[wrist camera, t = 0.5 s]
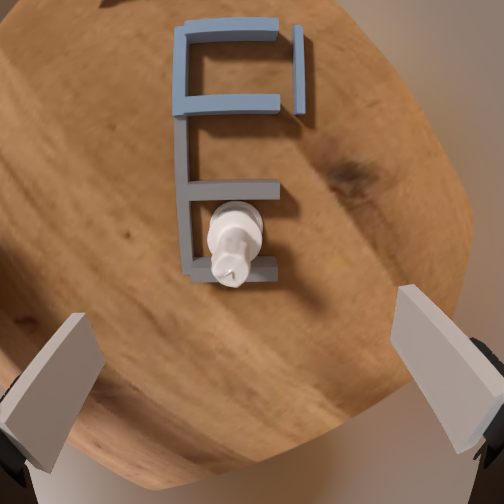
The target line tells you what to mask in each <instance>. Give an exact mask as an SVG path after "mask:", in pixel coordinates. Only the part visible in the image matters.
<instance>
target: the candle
mask: <svg viewBox="0 0 504 504" xmlns="http://www.w3.org/2000/svg"><path fill="white" fill-rule="evenodd" d="M262 231H263V222H262V218H261V216H260V214H259V212H258V211H257V210H256V209H255V208H254V207H253V206H252V205H250V204H249V203H246V202H243V201H229V202H226V203H224V204H222V205H221V206H219V207H218V208H217V209H216V210H215V212H214V213H213V215H212V217H211V220H210V230H209V232H208V238H207V241H208V247H209V249H210V252H211V253H212V255H213V256H212V257H211V262H212V267H211V271H212V274H213V275H214V277H215V278H216V279H217V280H218V281H219V282H220V283H221V284H223V285H225V286H228V287H234V288H237V287H239V286H240V285H241V284H243V283H244V282H245V281H246V280H247V278H248V277H249V274H250V267H251V261H252V260H253V259H254V258H255V257H256V256H257V254H258V253H259V251H260V249H261V245H262Z"/></svg>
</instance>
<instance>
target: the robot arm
mask: <svg viewBox="0 0 504 504" xmlns="http://www.w3.org/2000/svg"><path fill="white" fill-rule="evenodd" d="M390 342H391V343H392V345H393V347H394V348H395V350H396V351H397V353H398V354H399V356H400V357H401V359H402V360H403V362H404V364H405V365H406V367H407V368H408V370H409V372H410V373H411V375H412V376H413V378H414V380H415V381H416V383H417V384H418V386H419V388H420V389H421V391H422V393H423V394H424V396H425V398H426V399H427V401H428V403H429V404H430V406H431V408H432V409H433V411H434V413H435V415H436V416H437V418H438V420H439V422H440V423H441V425H442V427H443V429H444V430H445V432H446V434H447V436H448V438H449V439H450V441H451V443H452V445H453V447H454V449H455V451H456V453H457V454H459V453H461V452H464V451H465V450H467V449H469V448H471V447H473V446H475V445H476V443H477V442H478V441H479V439H480V438H481V437H482V435H483V436H484V437H485V439H486V442H485V443H484V444H483V445H482V447H481V448H480V449H479V450H478V452H477V453H476V454H475V456H474V458H473V460H476V459H477V458H478V456H479V455H480V454H481V457H480V460H479V461H480V462H479V466H478V470H477V474H476V478H475V481H474V485H473V488H472V492H471V495H470V499H469V501H468V504H504V364H503V363H502V362H501V361H499V360H498V358H497V357H496V356H495V355H494V354H492V351H491V350H490V349H489V348H488V347H487V346H486V345H485V344H484V343H482V342H481V341H479V340H477V339H475V338H473V337H472V338H468V337H466V335H464V333H463V332H462V331H461V330H460V329H459V328H458V327H457V326H456V325H455V324H454V323H453V322H452V321H451V320H450V319H449V318H448V317H447V316H446V315H445V314H444V313H443V312H442V311H441V310H440V309H439V308H438V307H437V306H436V305H435V304H434V303H433V302H432V301H431V300H430V299H429V298H428V297H427V296H426V295H425V294H424V293H423V292H422V291H420V290H419V289H418V288H417V287H416V286H415V285H414V284H412V285H406V286H399V287H398V294H397V301H396V308H395V314H394V320H393V326H392V332H391V337H390ZM105 363H106V362H105V360H104V357H103V355H102V353H101V350H100V348H99V346H98V343H97V341H96V338H95V336H94V333H93V331H92V328H91V326H90V323H89V320H88V318H87V315H86V313H72V314H71V315H70V316H69V318H68V319H67V320H66V321H65V322H64V323H63V324H62V326H61V327H60V328H59V329H58V330H57V331H56V333H55V334H54V335H53V336H52V337H51V338H50V340H49V341H48V342H47V343H46V345H45V346H44V347H43V348H42V349H41V351H40V352H39V353H38V354H37V356H36V357H35V358H34V359H33V361H32V362H31V363H30V364H29V366H28V367H27V368H26V370H25V371H24V372H23V373H22V374H20V375H19V376H18V377H17V378H16V379H15V380H14V381H13V383H12V384H11V385H10V388H8V390H7V391H6V392H5V395H3V396H2V398H1V399H0V504H38V501H37V498H36V495H35V492H34V488H33V484H32V481H31V477H30V473H29V470H28V467H27V466H26V465H25V464H24V463H25V461H26V459H27V460H28V461H29V462H30V463H31V464H32V465H33V466H34V467H35V468H37V469H40V470H42V471H45V472H47V473H51V472H52V469H53V467H54V464H55V462H56V460H57V458H58V456H59V453H60V451H61V449H62V447H63V445H64V442H65V441H66V438H67V436H68V434H69V432H70V430H71V428H72V426H73V424H74V422H75V420H76V418H77V416H78V414H79V412H80V410H81V408H82V406H83V404H84V402H85V400H86V398H87V396H88V394H89V392H90V390H91V389H92V387H93V385H94V383H95V381H96V379H97V377H98V376H99V374H100V372H101V370H102V368H103V366H104V365H105Z"/></svg>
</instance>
